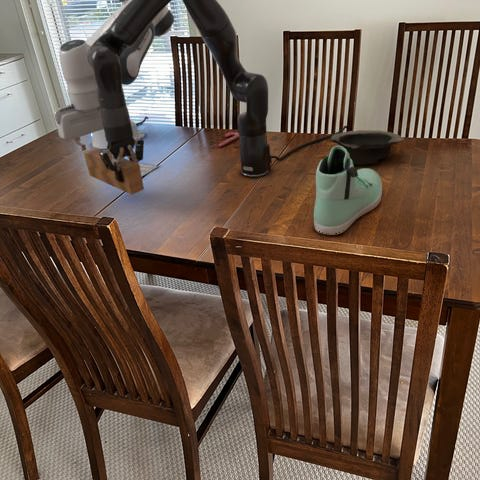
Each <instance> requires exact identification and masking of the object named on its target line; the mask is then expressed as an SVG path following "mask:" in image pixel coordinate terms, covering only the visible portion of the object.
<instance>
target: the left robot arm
mask: <svg viewBox="0 0 480 480" xmlns="http://www.w3.org/2000/svg"><path fill="white" fill-rule="evenodd" d="M118 1H119V2H120V3H122V5H120V6H119V7H118V8H117V9H116V10H115V11H114V12H113V13H112V14H111V15H110V16H109V17H108V19H106V20H105V21H104V23H102V24H101V26H100V27H99V28H98V29H97V30H96V31H94V33H93V34H92V35H91V36H90V37H88V38H87V39H86V40H84V39H72V40H67V41H66V42H64V43H63V44H61V46H60V47H59V62H60V63H59V64H60V67H61V72H62V76H63V78H64V80H65V82H66V87H67V89H66V91H67V96H68V100H69V103H70V104H67V105H65V106H61V107H57V110H55V112H54V118H55V122H56V126H57V132H58V136H59V138H60V139H62V140H64V141H71V140H72V141H73V142H74V143H75V144H76V146H77V147H78V150H79V151H80V152H84V151H87V147H86V144H85V143H82V142H80V141H81V137H84V136H86V135H90V134H91V137H92V138H91V140H92V141H91V147H92V148H99V149H102V150H106V149H107V146H108V143H107V140H106V136H105V132H104V128H103V124H102V119H101V112H100V106H99V101H98V97H97V83H96V78H95V74H94V70H93V68H92V67H91V66H90V64H89V62H88V59H87V55H88V51H89V49H90V47H91V46H92V45H93V43H94V42H95V41H96V40H97V39H98V38H99V37H100V36H101V35H102V34H103V33H104V32H105V31H106V30H107V29H108V28H109V27H110V26H111V25H112V23H113V22H114V21H115V19H116V18H117V16H118V15H119V14H120V13H121V11H122V10H123V9H124V8H125V7H126V5H127V4H128V3H129V2H131V1H132V0H118ZM174 22H175V17H174V15H173V12H172V11H171V10H170V9H169V8H168V7H167V6H166V7H165V8H164V9H163V10H162V11H161V12H160V13H159V14H158V15H157V16H156V17H155V19H154V20H153V21H152V22H151V23H150V25H149V26H148V27H147V28H146V30H145V31H144V32H143V33H142V35H141V36H140V37H139V38H138V40H137V41H136V42H135V43H134V44H133V45H132V46H131V47H129V48H127V49H125V50H124V52H123V53H122V54H121V55H120V56H119V61H120V66H121V75H122V86H129V85H131V84H133V83H134V82H135V81H136V80H137V78H138V76H139V74H140V71H141V66H142V63H143V62H144V59H145V58H146V56H147V54H148V51H149V50H150V48H151V46H152V44H153V42H154V39H155V37H157V38H160V37H162V36H164V35H166V34H168V32H170V30H171V29H172V27H173V25H174ZM147 120H149V117H148V116H144V118H143V120H142V121H139V122H137V123H135V122H134V121H133V120H131V119H130V121H131V126H132V131H133V138H134V139H137V138H138V139H141V140H142V139H143V138H145V137H146V135H145V133H144V132H142V131H140V130H139V129H138V126H139V125H142V124H144V123H145V122H146V121H147Z"/></svg>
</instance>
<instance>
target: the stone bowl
mask: <svg viewBox="0 0 480 480" xmlns="http://www.w3.org/2000/svg"><path fill="white" fill-rule="evenodd" d="M329 141H330V142H332V143H334V144H337V145H338V146H342V147H344V148H345V149H346V150H347V152H348V153H349V156H350V159H352V161H353V166H355V165H357V166H365V165H375V164H377V163H378V161H379V160H388V159H389V158H390V155H391V151H392V146H394V145H396V144H397V145H398V144H399V143H401V142H403V141H404V137H403V136H401V135H399V134H397V133H394V132H391V131H385V130H384V131H383V130H360V129H359V130H349V131H343V132H341V133H338V134H335V135H333V136H332V137H330V140H329Z"/></svg>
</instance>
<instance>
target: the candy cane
mask: <svg viewBox="0 0 480 480" xmlns="http://www.w3.org/2000/svg"><path fill="white" fill-rule="evenodd" d="M224 137H225V138H227V139H225V140H224V141H222V142H220V143H219V144H218V148H222V147H224V146H226V145H227V144H229V143H231V142H233V141H234V140H237V139H239V132H236V131H230V132H227V133H226V134H225V135H224ZM229 137H230V138H229Z"/></svg>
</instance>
